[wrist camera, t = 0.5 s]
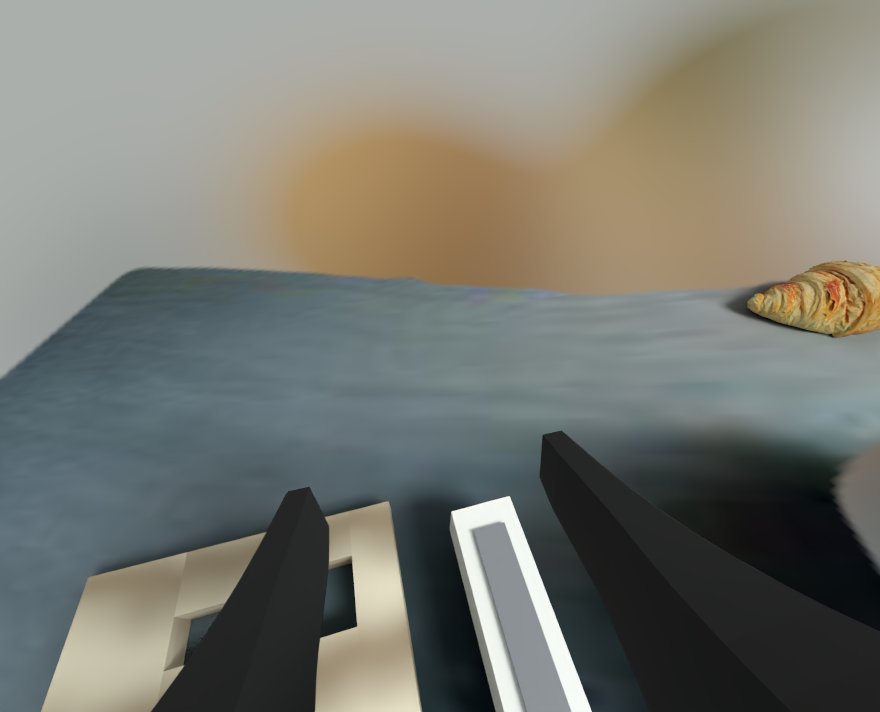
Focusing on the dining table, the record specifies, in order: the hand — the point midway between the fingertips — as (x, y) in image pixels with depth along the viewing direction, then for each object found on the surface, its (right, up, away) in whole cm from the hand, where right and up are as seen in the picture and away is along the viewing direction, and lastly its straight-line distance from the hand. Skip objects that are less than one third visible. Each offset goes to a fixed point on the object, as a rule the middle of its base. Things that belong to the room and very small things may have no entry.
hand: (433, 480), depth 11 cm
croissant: (+49, +9, +34) cm, 60 cm away
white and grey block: (+4, -14, +12) cm, 19 cm away
